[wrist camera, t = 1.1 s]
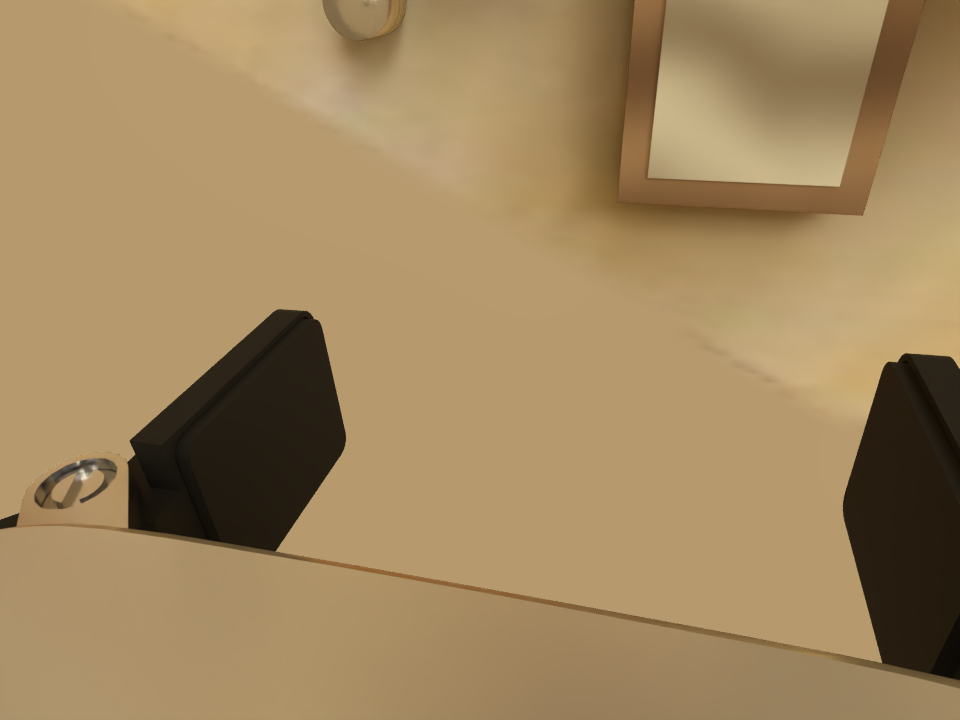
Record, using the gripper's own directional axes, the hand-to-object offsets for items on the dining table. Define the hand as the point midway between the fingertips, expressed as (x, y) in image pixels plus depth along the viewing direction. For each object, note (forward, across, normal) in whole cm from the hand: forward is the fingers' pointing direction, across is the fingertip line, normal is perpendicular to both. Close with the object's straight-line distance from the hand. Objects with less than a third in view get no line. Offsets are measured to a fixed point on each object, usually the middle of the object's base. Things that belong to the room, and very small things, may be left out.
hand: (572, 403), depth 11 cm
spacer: (+23, +13, -5) cm, 27 cm away
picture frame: (+23, -4, -3) cm, 24 cm away
